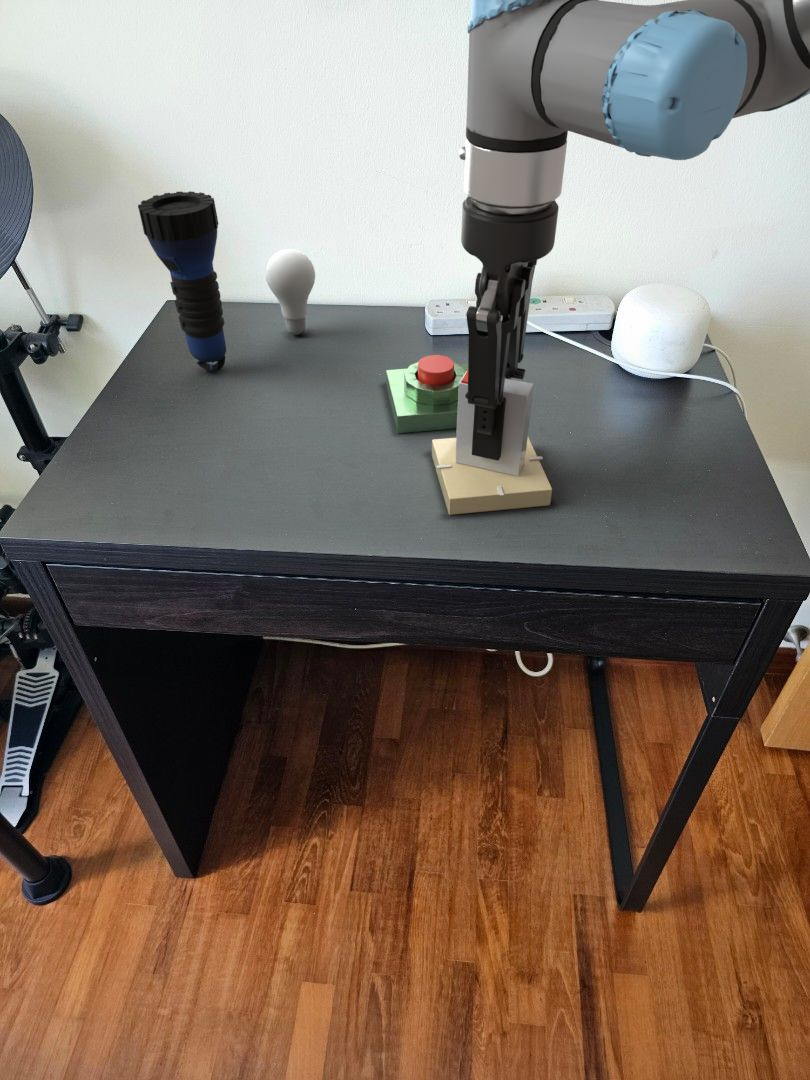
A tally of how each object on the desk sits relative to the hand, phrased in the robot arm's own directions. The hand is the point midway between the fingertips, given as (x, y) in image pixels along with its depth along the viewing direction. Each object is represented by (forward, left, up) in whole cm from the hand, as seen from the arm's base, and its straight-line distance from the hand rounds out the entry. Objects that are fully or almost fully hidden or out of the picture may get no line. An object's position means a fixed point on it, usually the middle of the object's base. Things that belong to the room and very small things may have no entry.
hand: (490, 446), depth 77 cm
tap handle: (0, 0, -2) cm, 2 cm away
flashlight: (+26, +29, -4) cm, 39 cm away
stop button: (+14, +3, 0) cm, 15 cm away
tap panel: (0, 0, -4) cm, 4 cm away
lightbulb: (+34, +18, -4) cm, 39 cm away
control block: (+14, +3, -4) cm, 15 cm away
